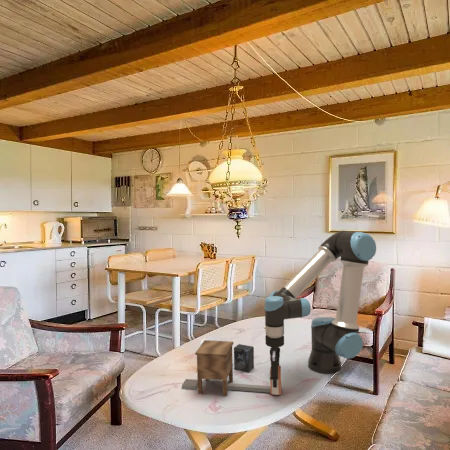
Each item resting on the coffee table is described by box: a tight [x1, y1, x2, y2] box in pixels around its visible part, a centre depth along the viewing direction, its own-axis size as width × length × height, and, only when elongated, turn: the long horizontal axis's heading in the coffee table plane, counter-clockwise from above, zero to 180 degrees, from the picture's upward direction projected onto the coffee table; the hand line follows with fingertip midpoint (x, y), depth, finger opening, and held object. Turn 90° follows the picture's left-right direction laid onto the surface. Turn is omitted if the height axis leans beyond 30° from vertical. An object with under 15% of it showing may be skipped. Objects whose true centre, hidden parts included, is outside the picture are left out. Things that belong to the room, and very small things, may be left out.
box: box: [233, 343, 255, 373], centre depth 183 cm, size 8×6×11 cm
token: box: [181, 378, 198, 391], centre depth 167 cm, size 6×6×2 cm
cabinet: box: [194, 339, 234, 397], centre depth 165 cm, size 13×15×17 cm
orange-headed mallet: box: [227, 365, 282, 396], centre depth 161 cm, size 22×4×10 cm, turn 78°
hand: (275, 390), depth 160 cm, fingers closed on orange-headed mallet, 4 cm apart
